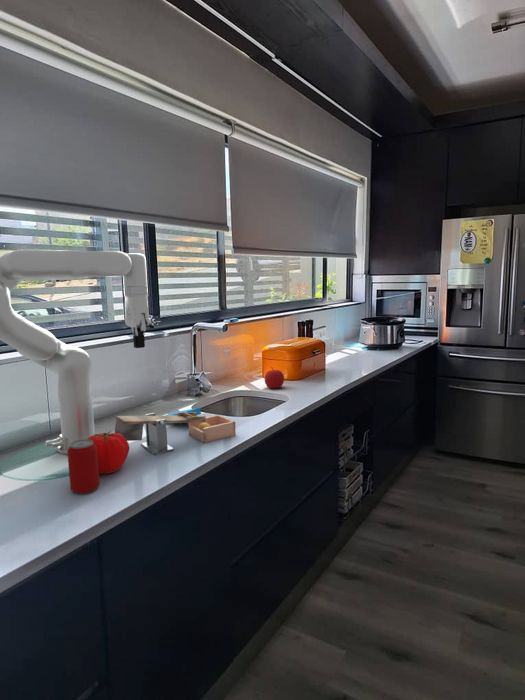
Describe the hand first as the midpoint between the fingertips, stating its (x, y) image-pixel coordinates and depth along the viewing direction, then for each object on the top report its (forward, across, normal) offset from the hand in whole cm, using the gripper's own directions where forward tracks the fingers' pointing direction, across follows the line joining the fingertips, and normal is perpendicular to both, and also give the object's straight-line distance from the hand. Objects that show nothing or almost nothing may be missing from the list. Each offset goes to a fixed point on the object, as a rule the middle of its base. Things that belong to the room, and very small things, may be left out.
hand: (139, 347), depth 157 cm
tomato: (+29, +25, -21) cm, 44 cm away
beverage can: (+29, +34, -29) cm, 53 cm away
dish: (+29, +18, +16) cm, 38 cm away
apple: (+29, -23, +73) cm, 82 cm away
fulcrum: (+29, +18, -3) cm, 34 cm away
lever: (+26, +18, -2) cm, 31 cm away
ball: (+26, +18, +14) cm, 35 cm away
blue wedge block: (+30, +1, +15) cm, 33 cm away
